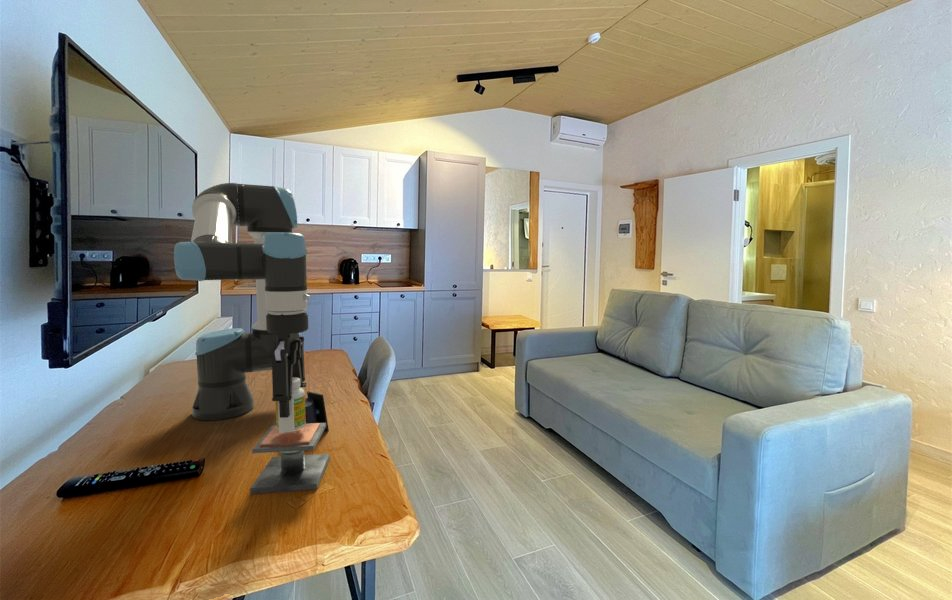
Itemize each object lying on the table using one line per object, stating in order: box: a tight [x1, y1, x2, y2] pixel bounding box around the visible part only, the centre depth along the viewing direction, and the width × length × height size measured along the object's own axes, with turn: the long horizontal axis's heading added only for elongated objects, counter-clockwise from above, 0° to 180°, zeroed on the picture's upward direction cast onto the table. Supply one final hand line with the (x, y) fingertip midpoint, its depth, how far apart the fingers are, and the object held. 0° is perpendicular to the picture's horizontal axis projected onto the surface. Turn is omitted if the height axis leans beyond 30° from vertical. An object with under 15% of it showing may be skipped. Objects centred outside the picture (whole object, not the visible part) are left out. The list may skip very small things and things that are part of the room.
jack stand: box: [249, 423, 331, 495], centre depth 82 cm, size 12×12×9 cm
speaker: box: [305, 390, 330, 432], centre depth 102 cm, size 8×6×10 cm
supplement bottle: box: [275, 377, 306, 430], centre depth 81 cm, size 5×5×10 cm
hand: (291, 424), depth 82 cm, fingers closed on supplement bottle, 5 cm apart
